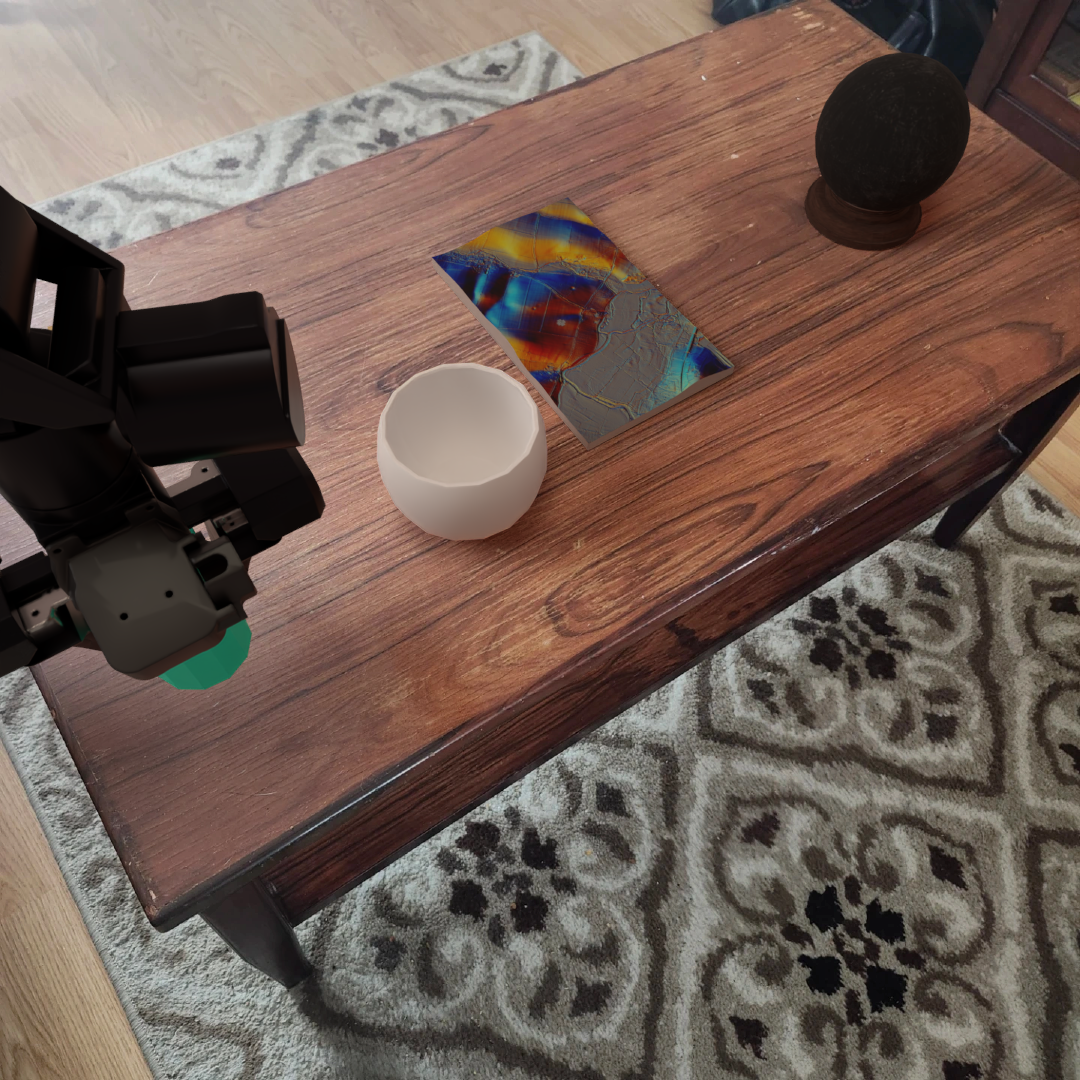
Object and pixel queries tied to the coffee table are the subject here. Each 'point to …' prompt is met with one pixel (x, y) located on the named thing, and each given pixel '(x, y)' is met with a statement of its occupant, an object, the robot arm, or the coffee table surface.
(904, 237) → the velvet ball on stand
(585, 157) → the coffee table surface
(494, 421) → the cup
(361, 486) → the coffee table surface
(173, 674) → the candle
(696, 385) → the relief map
